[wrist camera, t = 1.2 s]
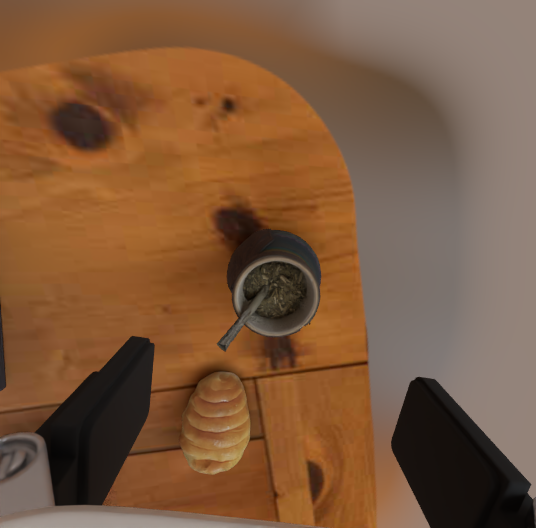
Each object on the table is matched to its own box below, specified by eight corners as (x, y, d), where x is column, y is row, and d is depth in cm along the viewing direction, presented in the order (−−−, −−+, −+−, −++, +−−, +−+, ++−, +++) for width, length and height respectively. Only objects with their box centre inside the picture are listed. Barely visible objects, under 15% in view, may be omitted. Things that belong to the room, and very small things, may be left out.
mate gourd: (331, 265, 26) (371, 312, 16) (270, 321, 27) (273, 395, 17) (274, 206, 24) (280, 218, 15) (213, 268, 26) (181, 316, 16)
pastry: (188, 362, 28) (177, 389, 24) (258, 370, 28) (257, 397, 25) (183, 441, 30) (172, 476, 27) (247, 447, 31) (245, 482, 27)
